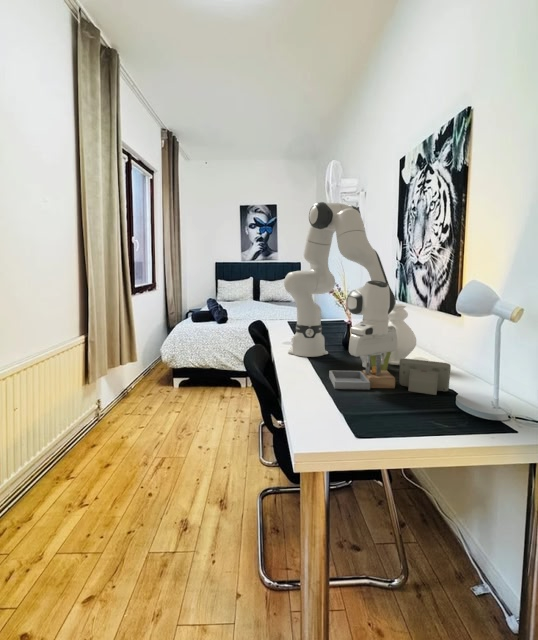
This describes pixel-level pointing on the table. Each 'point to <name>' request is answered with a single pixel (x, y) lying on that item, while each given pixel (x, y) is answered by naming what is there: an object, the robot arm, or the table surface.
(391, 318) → the decorative vase
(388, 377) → the stand
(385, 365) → the plant pot
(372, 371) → the ball
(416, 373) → the digital clock
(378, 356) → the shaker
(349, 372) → the tray
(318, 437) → the table surface
